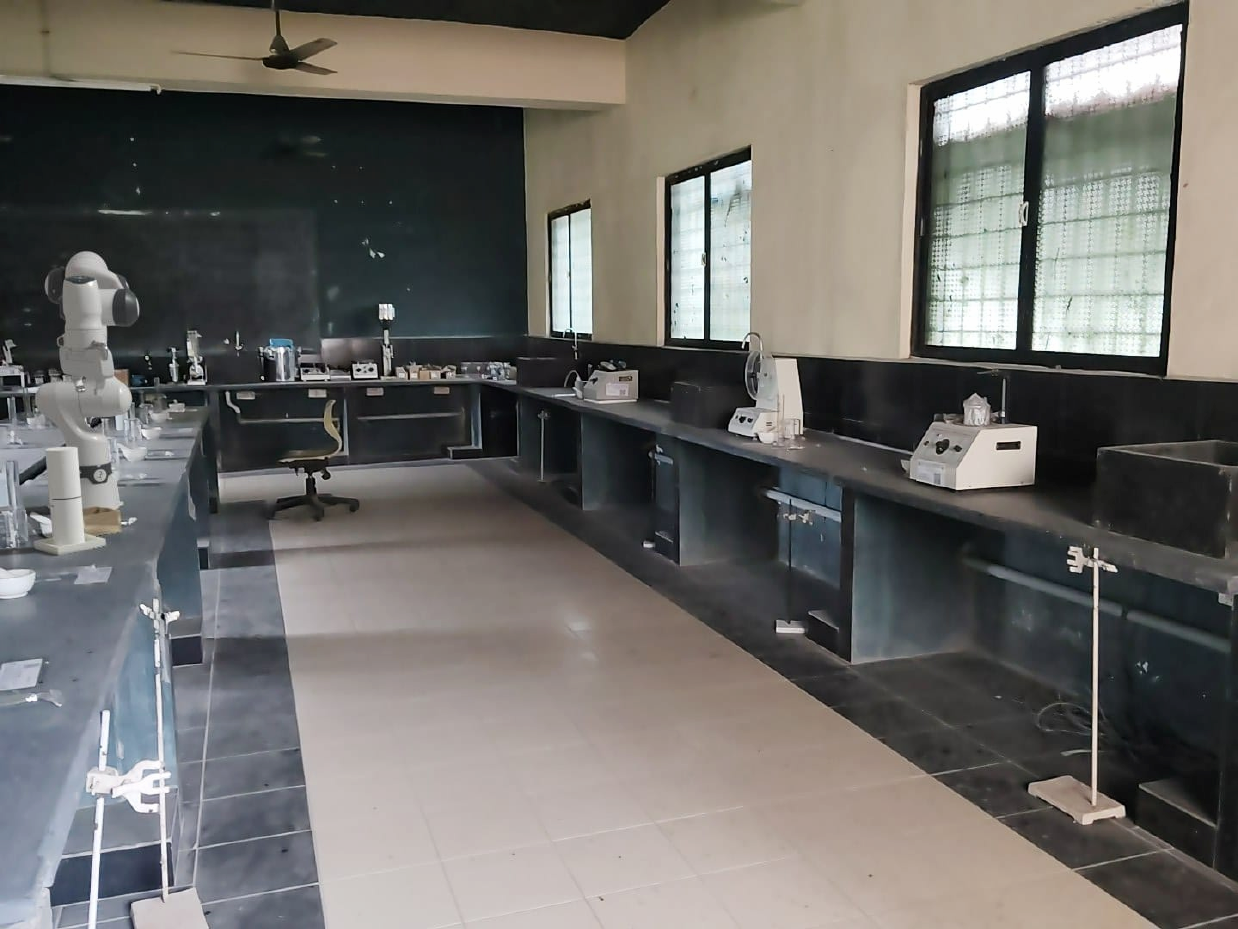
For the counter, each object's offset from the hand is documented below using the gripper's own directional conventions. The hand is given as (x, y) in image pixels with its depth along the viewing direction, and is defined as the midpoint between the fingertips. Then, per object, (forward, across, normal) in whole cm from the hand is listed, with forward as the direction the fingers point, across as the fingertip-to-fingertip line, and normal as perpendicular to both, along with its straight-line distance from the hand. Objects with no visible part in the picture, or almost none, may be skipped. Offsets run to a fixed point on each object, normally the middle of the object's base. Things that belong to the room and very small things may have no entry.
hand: (89, 393), depth 263 cm
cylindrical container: (+38, -4, +10) cm, 40 cm away
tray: (+38, -4, +10) cm, 40 cm away
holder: (+39, +8, -2) cm, 40 cm away
